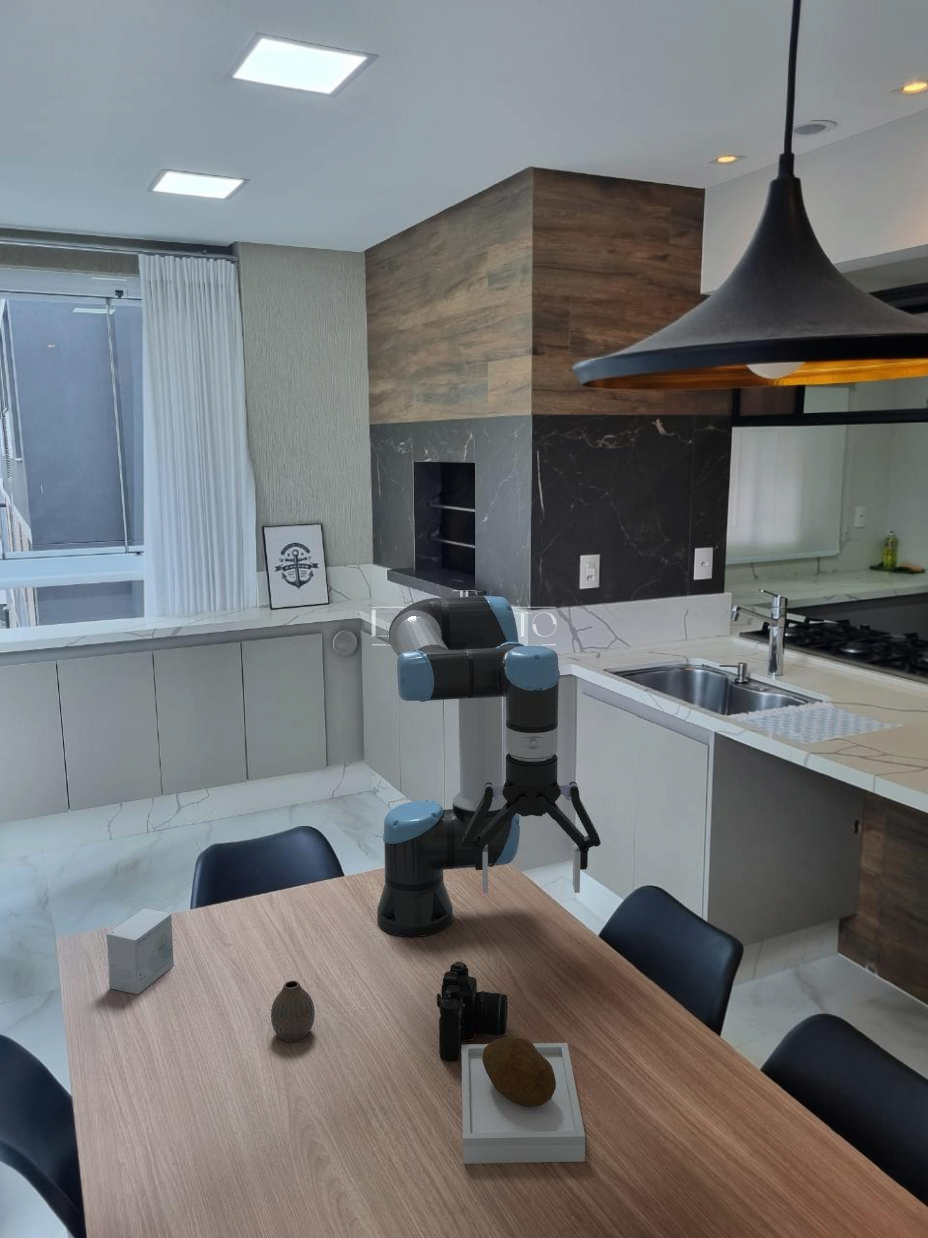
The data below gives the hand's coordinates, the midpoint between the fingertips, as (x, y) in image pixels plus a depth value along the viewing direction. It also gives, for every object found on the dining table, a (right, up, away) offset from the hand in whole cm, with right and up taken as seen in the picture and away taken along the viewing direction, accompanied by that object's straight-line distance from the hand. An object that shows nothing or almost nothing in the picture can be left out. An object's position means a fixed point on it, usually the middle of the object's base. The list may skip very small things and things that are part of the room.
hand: (530, 889), depth 141 cm
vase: (-37, -27, +11) cm, 47 cm away
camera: (-9, -27, +10) cm, 30 cm away
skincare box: (-68, -24, +29) cm, 77 cm away
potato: (-2, -27, -7) cm, 28 cm away
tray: (-2, -29, -7) cm, 30 cm away
